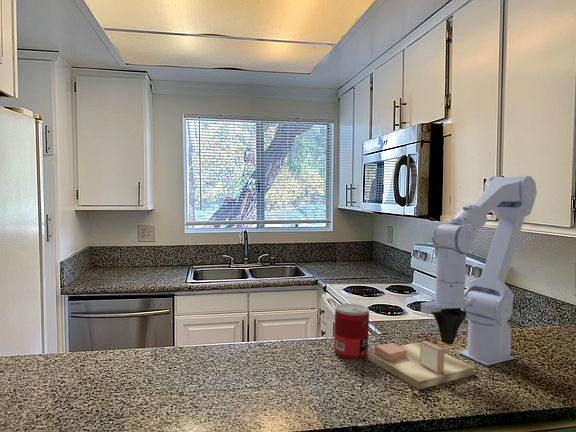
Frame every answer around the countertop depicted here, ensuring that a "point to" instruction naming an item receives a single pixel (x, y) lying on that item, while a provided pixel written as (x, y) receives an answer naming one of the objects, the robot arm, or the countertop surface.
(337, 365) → the countertop surface
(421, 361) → the tile
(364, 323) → the canned food
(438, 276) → the robot arm
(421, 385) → the board
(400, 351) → the tile
